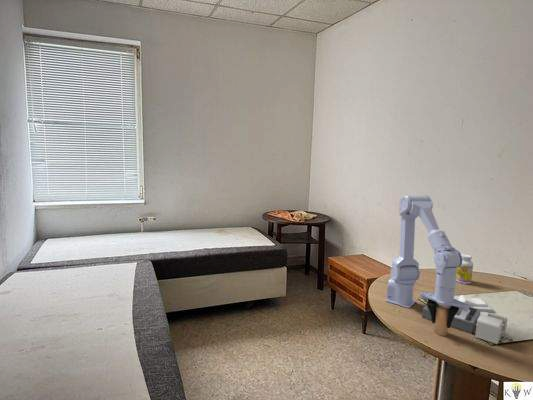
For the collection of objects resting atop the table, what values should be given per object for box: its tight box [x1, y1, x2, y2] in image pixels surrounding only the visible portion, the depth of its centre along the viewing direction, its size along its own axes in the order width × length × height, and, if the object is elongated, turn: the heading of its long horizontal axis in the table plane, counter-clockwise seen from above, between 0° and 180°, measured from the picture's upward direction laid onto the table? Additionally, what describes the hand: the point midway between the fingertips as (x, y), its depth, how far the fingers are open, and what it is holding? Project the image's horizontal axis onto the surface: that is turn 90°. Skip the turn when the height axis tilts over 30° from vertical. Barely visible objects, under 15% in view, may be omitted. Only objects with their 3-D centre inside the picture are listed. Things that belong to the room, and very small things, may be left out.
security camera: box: [474, 312, 509, 345], centre depth 114 cm, size 6×7×10 cm
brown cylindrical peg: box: [433, 305, 449, 337], centre depth 116 cm, size 4×4×9 cm
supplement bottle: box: [456, 253, 474, 285], centre depth 162 cm, size 7×7×13 cm
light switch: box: [454, 294, 495, 313], centre depth 138 cm, size 11×4×13 cm
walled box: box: [422, 304, 482, 334], centre depth 127 cm, size 16×14×4 cm
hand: (441, 324), depth 116 cm, fingers closed on brown cylindrical peg, 4 cm apart
